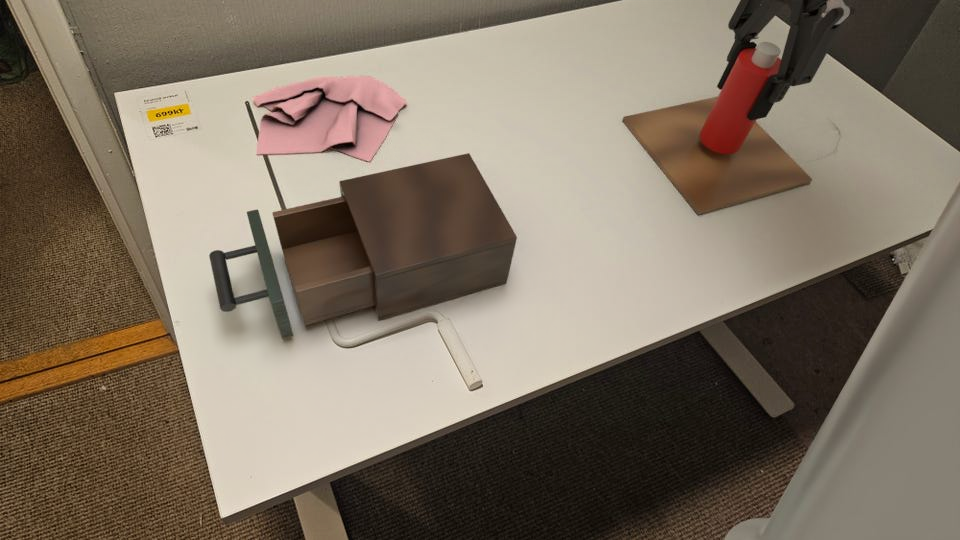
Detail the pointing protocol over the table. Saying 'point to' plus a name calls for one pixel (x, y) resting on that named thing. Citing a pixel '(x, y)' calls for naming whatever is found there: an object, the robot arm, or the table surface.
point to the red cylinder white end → (739, 98)
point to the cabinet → (429, 233)
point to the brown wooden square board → (713, 158)
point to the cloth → (328, 116)
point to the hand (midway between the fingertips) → (741, 101)
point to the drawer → (306, 264)
